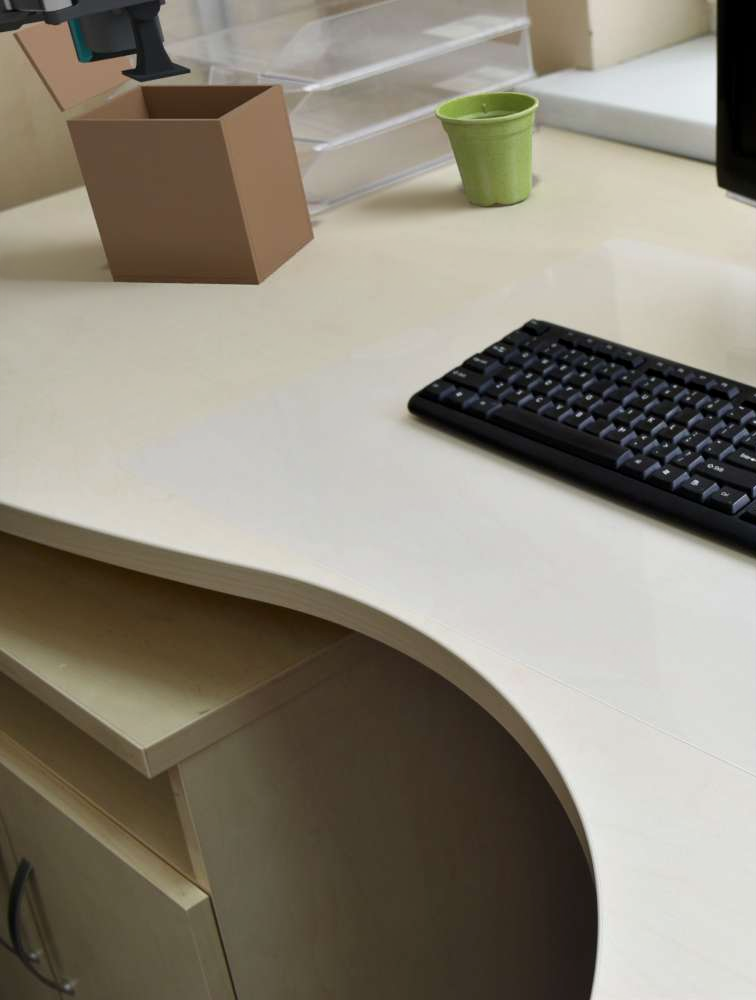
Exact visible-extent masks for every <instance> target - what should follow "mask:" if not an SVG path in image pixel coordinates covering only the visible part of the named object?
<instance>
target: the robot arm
mask: <svg viewBox="0 0 756 1000" xmlns="http://www.w3.org/2000/svg"><path fill="white" fill-rule="evenodd" d="M149 1H153V3H154V4H157V5H161V6H165V5H166V4H167V3H166V0H0V34H1V33H6V32H13V31H17V30H18V31H19V30H20V29H21V28H22V27H23V26H24V25H29V24H35V23H42V22H45V24H48V25H60V24H61V23H63V22H66V21H69V20H72V19H75V18H78V17H81V16H86V15H90V14H95V13H99V12H104V11H108V10H113V9H117V8H122V7H126V6H131V5H136V4H140V3H145V2H149Z"/></svg>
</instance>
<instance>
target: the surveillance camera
mask: <svg viewBox="0 0 756 1000" xmlns="http://www.w3.org/2000/svg"><path fill="white" fill-rule="evenodd" d="M161 6H162V5H157V4H154V3H153V1H149V2H145V3H140V4H136V5H131V6H126V7H122V8H117V9H113V10H108V11H104V12H99V13H95V14H90V15H86V16H81V17H78V18H75V19H72V20H69V21H67V22H68V26H69V30H70V33H71V37H72V40H73V44H74V47H75V51H76V55H77V58H78V62H81V63H89V62H95V61H100V60H106V59H112V58H117V57H123V56H126V57H128V56H134V55H136V59H135V61H136V63H135V64H136V65H135V67H133V69H128V70H123V71H121V72H122V75H124V76H127V77H129V78H131V80H134V81H136V82H138V83H146V82H150V81H151V82H152V81H156V80H162V79H167V78H171V77H177V76H181V75H187V74H191V73H192V70H191V69H190V68H188V67H186V66H183V65H180V64H178V63H176V62H173V61H172V60H171V58H170V56H169V53H168V52H167V51H166V48H165V46H164V42H165V36H164V33H163V28H162V24H161V20H160V16H159V13H160V10H161Z"/></svg>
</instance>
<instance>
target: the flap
mask: <svg viewBox="0 0 756 1000" xmlns="http://www.w3.org/2000/svg"><path fill="white" fill-rule="evenodd" d="M12 36H13V38H14V39H15V41H16V42H17V44H18V46H19V47H20V49H21V50H22V52H23V54H24V55H25V57H26V59H27V60H28V61H29V63H30V64H31V66H32V68H33V69H34V71H35V73H36V74H37V76H38V77H39V79H40V81H41V82H42V84H43V86H44V87H45V89H46V90H47V92H48V94H49V95H50V97H51V99H52V100H53V101H54V103H55V104H56V106H57V107H58V109H59V111H60V112H61V113H63V112H66V111H68V110H70V109H72V108H74V107H76V106H78V105H81V104H82V103H85V102H87V101H89V100H91V99H93V98H95V97H97V96H99V95H102V94H103V93H105V92H108V91H110V90H111V89H114V88H116V87H118V86H121V85H122V84H124V83H126V82H128V81H131V80H132V79H131V78H129V77H127V76H124V75H122V72H121V71H123V70H128V69H134V67H133V66H132V64H131V62H130V60H129V59H128V58H127V57H128V56H123V57H117V58H112V59H106V60H100V61H95V62H89V63H81V62H78V58H77V55H76V51H75V47H74V44H73V40H72V37H71V33H70V30H69V26H68V22H67V21H66V22H63V23H61V24H60V25H48V24H45V21H42V22H39V23H37V24H35V25H32V26H29V27H26V28H24V29H21V30H18V31H16V32H14V33H12Z"/></svg>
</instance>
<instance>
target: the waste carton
mask: <svg viewBox="0 0 756 1000" xmlns="http://www.w3.org/2000/svg"><path fill="white" fill-rule="evenodd" d="M290 121H291V120H290V117H289V111H288V107H287V102H286V97H285V93H284V88H283V85H282V83H281V84H280V83H278V84H276V83H273V84H272V83H271V84H270V83H269V84H268V83H265V84H263V83H262V84H261V83H260V84H259V83H258V84H257V83H256V84H252V83H251V84H250V83H249V84H246V83H245V84H243V83H241V84H235V83H233V84H137V85H135V86H133V87H131V88H129V89H128V90H126V91H124V92H122V93H120V94H118V95H115V96H113V97H111V98H109V99H107V100H104V101H103V102H101V103H99V104H96V105H95V106H93V107H91V108H88V109H86V110H85V111H83V112H81V113H78V114H77V115H75V116H73V117H70V118H69V119H67V120H66V125H67V128H68V132H69V135H70V138H71V142H72V144H73V145H72V146H73V148H74V152H75V155H76V159H77V163H78V165H79V169H80V173H81V176H82V180H83V182H84V186H85V190H86V193H87V197H88V199H89V204H90V206H91V210H92V214H93V217H94V220H95V223H96V227H97V230H98V233H99V237H100V240H101V241H100V242H101V244H102V247H103V251H104V253H105V257H106V260H107V264H108V267H109V271H110V275H111V278H112V281H113V283H152V284H153V283H159V284H163V283H164V284H206V285H207V284H209V285H210V284H211V285H260V284H261V283H263V282H264V281H265V280H267V279H268V278H269V277H270V276H271V275H272V274H274V273H275V272H276V271H277V270H278V269H279V268H280V267H282V266H283V265H285V263H286V262H288V261H289V260H290V259H291V258H293V256H295V255H296V254H297V253H298V252H299V251H301V250H302V249H303V248H305V246H307V245H308V244H309V243H310V242H311V241H312V240H314V239H315V235H314V230H313V225H312V221H311V215H310V211H309V206H308V202H307V197H306V193H305V187H304V182H303V178H302V173H301V169H300V163H299V159H298V154H297V150H296V145H295V140H294V135H293V130H292V126H291V122H290Z"/></svg>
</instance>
